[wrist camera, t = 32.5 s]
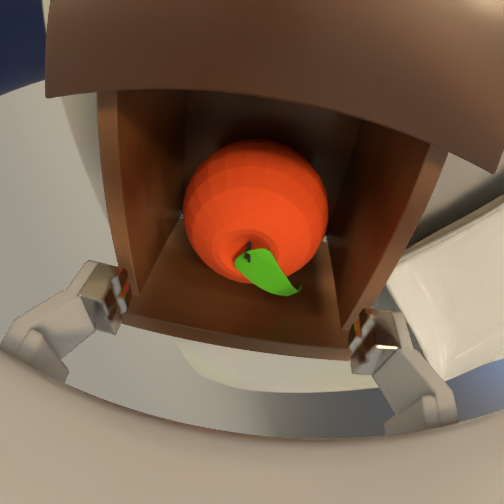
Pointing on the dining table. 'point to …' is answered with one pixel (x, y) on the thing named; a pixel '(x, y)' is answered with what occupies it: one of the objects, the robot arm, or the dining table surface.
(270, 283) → the clementine
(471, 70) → the cabinet
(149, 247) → the drawer
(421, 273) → the square plate
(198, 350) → the dining table surface
